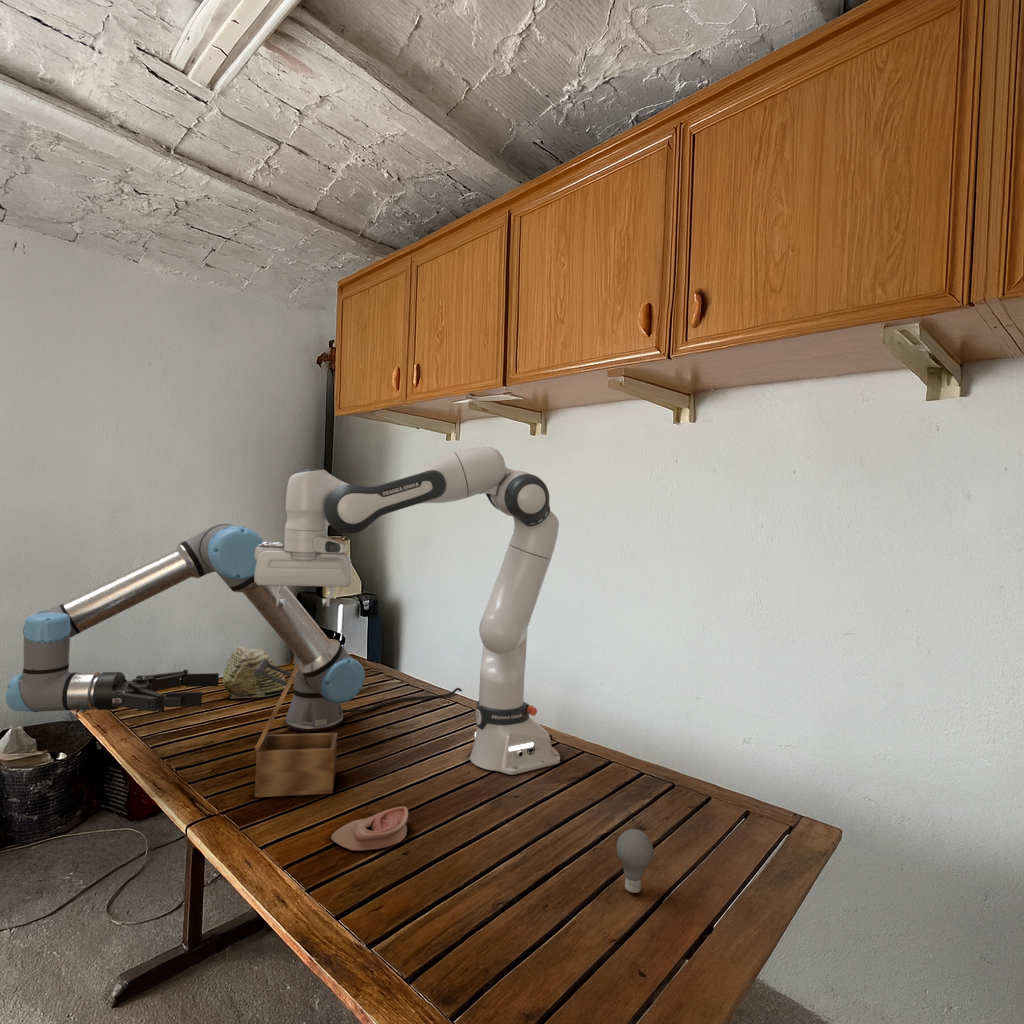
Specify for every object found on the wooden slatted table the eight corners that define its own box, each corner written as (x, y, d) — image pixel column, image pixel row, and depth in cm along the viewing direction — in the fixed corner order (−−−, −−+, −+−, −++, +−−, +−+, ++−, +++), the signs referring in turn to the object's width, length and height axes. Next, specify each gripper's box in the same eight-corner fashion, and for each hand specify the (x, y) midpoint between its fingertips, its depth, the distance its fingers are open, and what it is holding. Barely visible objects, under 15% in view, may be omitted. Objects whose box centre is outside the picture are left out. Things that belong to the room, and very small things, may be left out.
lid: (300, 665, 143) (266, 651, 141) (294, 677, 133) (258, 662, 132) (266, 733, 142) (232, 720, 140) (258, 750, 132) (221, 736, 130)
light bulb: (610, 879, 108) (613, 822, 108) (644, 879, 109) (647, 822, 109) (619, 902, 102) (622, 840, 102) (655, 901, 103) (658, 840, 103)
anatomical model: (323, 824, 115) (352, 795, 126) (322, 845, 115) (351, 815, 126) (392, 835, 112) (415, 805, 123) (391, 857, 112) (414, 825, 123)
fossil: (218, 695, 195) (220, 647, 195) (278, 685, 208) (279, 640, 207) (228, 703, 189) (230, 653, 188) (289, 692, 201) (290, 645, 201)
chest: (335, 774, 145) (337, 732, 145) (332, 793, 135) (334, 749, 135) (262, 777, 142) (264, 734, 141) (254, 797, 132) (256, 752, 132)
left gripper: (122, 690, 142) (223, 688, 147) (69, 731, 118) (192, 727, 122) (123, 657, 142) (224, 656, 146) (70, 691, 118) (194, 689, 122)
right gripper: (252, 542, 132) (249, 608, 133) (352, 545, 136) (350, 609, 137) (257, 540, 138) (255, 603, 139) (353, 543, 143) (351, 604, 143)
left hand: (210, 688), depth 134 cm, fingers open, 13 cm apart
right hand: (303, 606), depth 138 cm, fingers open, 8 cm apart
